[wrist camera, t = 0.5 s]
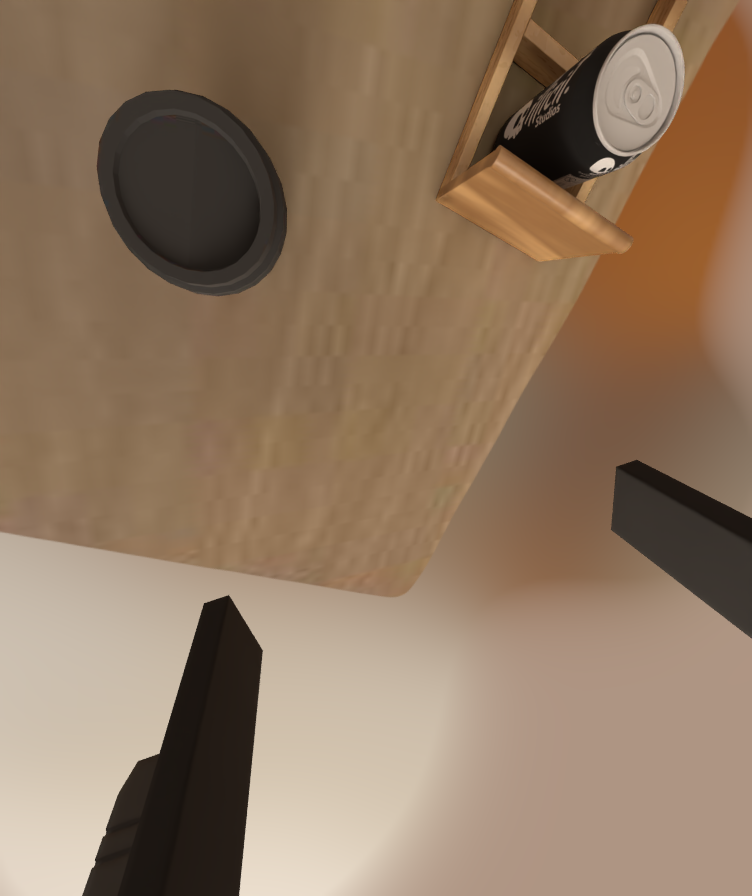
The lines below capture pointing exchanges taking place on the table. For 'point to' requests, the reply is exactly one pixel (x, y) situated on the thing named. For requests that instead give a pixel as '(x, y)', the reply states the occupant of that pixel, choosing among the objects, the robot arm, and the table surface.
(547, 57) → the rack
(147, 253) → the coffee cup
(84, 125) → the table surface
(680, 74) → the beverage can
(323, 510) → the table surface
